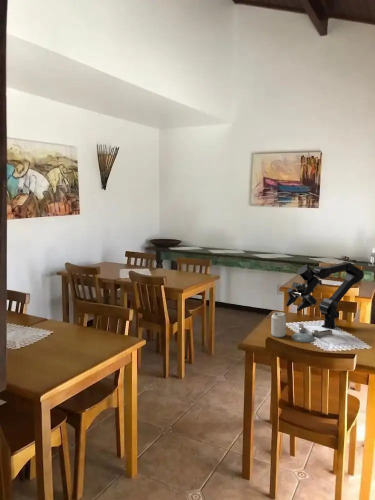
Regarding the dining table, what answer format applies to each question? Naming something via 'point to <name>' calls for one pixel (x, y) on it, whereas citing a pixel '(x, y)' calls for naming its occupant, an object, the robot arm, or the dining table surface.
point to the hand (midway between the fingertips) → (291, 308)
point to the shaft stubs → (315, 331)
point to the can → (278, 324)
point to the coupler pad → (303, 337)
